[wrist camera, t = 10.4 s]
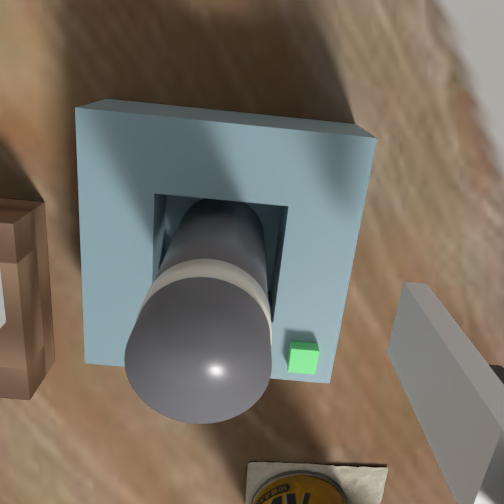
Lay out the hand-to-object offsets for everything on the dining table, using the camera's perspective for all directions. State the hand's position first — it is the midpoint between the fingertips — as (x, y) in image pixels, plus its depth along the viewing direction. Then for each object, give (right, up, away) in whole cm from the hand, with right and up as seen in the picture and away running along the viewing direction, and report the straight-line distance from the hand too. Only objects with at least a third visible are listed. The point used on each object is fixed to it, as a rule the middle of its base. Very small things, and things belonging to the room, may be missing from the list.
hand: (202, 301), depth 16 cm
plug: (0, +2, +7) cm, 7 cm away
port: (0, +3, +7) cm, 8 cm away
